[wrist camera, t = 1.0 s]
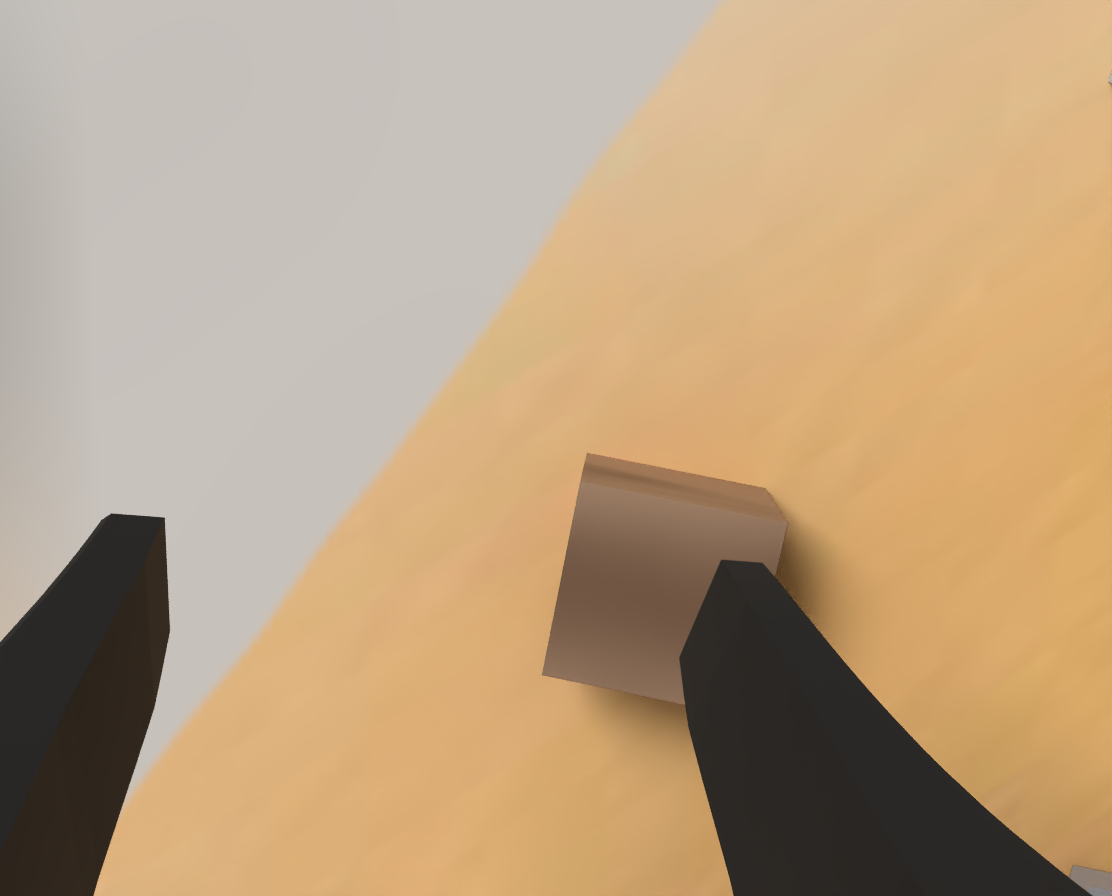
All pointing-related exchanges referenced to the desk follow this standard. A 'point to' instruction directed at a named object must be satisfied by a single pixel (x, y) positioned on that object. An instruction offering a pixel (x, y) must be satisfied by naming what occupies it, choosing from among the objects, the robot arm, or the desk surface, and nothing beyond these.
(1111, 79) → the external hard drive
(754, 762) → the robot arm
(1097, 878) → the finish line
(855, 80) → the desk surface
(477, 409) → the desk surface
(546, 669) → the walnut block
